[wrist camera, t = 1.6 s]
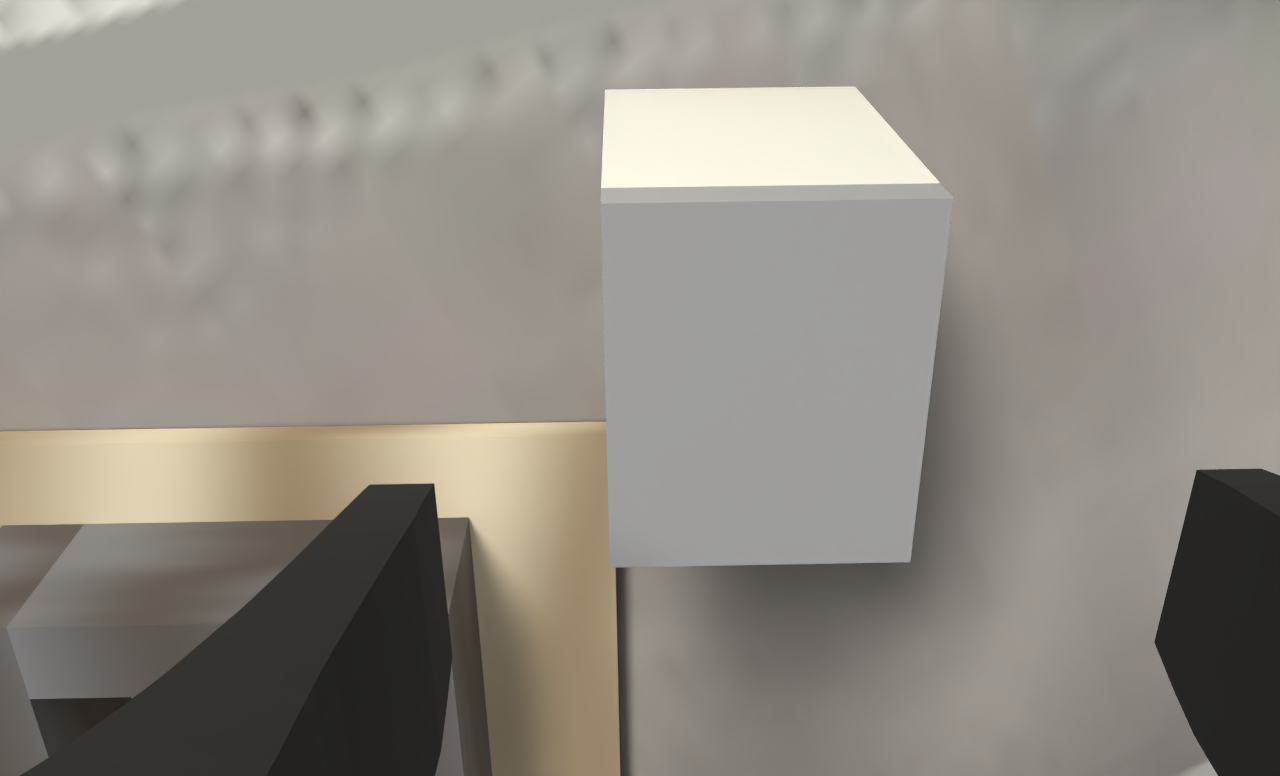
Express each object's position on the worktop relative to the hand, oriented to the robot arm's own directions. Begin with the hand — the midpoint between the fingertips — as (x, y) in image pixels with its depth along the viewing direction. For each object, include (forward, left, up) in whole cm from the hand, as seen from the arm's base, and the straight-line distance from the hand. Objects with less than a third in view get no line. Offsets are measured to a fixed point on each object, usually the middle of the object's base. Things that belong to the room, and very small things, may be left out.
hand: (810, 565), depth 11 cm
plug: (0, 0, -10) cm, 10 cm away
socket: (+9, +10, -9) cm, 16 cm away
